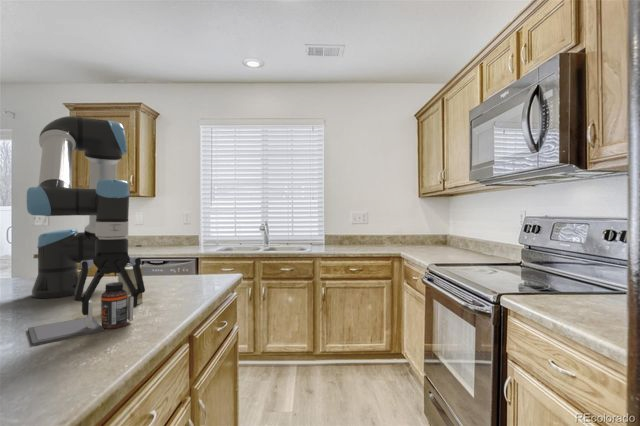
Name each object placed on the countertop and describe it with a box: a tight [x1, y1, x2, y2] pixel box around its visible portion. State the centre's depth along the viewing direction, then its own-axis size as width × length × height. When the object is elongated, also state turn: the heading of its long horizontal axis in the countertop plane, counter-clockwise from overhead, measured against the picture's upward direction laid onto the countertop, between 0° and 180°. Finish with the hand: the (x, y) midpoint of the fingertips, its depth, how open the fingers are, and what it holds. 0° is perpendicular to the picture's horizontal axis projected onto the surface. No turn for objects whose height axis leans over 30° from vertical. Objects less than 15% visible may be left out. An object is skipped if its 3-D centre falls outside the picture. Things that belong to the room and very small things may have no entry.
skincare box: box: [117, 265, 144, 308], centre depth 113 cm, size 6×4×12 cm
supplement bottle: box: [100, 281, 128, 330], centre depth 93 cm, size 6×6×11 cm
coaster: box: [27, 316, 105, 346], centre depth 89 cm, size 14×14×1 cm
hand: (110, 323), depth 92 cm, fingers open, 9 cm apart
